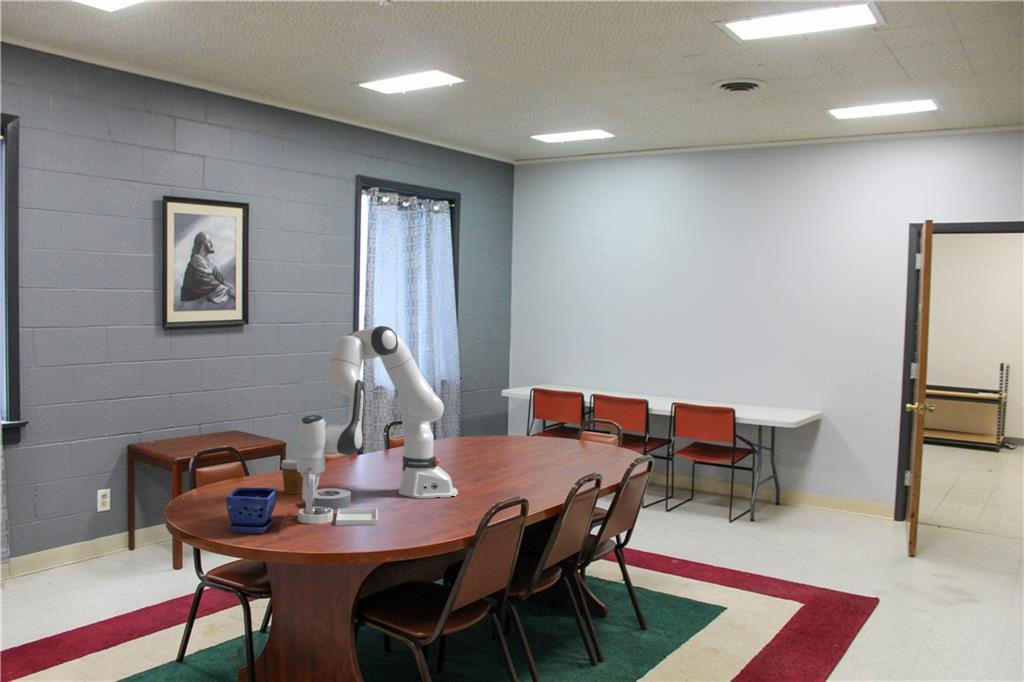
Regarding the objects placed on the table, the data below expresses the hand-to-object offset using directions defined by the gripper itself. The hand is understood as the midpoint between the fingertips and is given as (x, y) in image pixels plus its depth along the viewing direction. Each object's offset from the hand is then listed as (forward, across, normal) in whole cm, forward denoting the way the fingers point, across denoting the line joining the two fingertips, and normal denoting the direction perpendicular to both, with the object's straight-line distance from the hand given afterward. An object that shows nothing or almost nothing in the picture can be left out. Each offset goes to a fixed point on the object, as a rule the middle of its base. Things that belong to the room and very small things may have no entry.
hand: (310, 507), depth 272 cm
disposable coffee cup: (+5, +39, +9) cm, 41 cm away
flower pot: (+5, -9, +17) cm, 20 cm away
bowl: (+5, 0, -2) cm, 5 cm away
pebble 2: (+4, 0, -4) cm, 5 cm away
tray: (+5, 0, -15) cm, 16 cm away
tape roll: (+5, +19, -5) cm, 21 cm away
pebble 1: (+4, 0, 0) cm, 4 cm away
